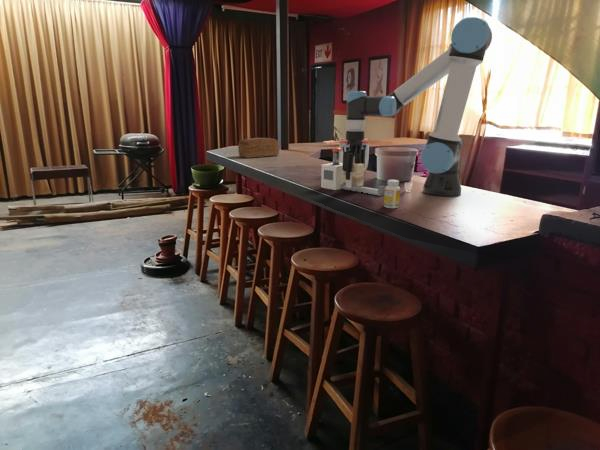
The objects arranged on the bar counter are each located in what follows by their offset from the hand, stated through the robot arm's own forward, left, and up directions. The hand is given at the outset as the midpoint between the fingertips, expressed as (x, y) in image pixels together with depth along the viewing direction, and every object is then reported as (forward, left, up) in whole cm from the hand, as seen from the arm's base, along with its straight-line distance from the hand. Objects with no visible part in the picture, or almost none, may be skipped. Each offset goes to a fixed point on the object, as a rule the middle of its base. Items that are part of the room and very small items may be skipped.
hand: (353, 186), depth 183 cm
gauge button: (+10, 0, +8) cm, 12 cm away
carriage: (0, 0, +1) cm, 1 cm away
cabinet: (+10, 0, -2) cm, 10 cm away
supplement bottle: (-27, +14, -2) cm, 31 cm away
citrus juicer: (+24, -32, -2) cm, 40 cm away
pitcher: (+15, -17, -2) cm, 22 cm away
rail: (-4, 0, -2) cm, 5 cm away
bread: (+113, -47, -2) cm, 122 cm away
